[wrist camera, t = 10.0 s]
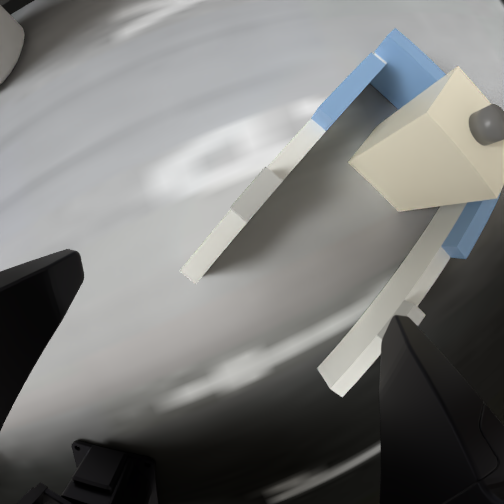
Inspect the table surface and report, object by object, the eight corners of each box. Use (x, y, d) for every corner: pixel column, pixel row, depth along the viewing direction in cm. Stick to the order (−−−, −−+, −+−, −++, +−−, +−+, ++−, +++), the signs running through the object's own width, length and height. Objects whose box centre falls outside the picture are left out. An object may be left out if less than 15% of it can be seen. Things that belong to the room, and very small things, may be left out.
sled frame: (327, 376, 19) (354, 414, 14) (188, 265, 18) (171, 275, 13) (472, 175, 19) (518, 164, 14) (365, 65, 18) (395, 28, 13)
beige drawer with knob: (398, 212, 19) (517, 195, 9) (347, 162, 19) (444, 101, 8) (424, 173, 19) (538, 139, 9) (377, 125, 19) (473, 54, 8)
